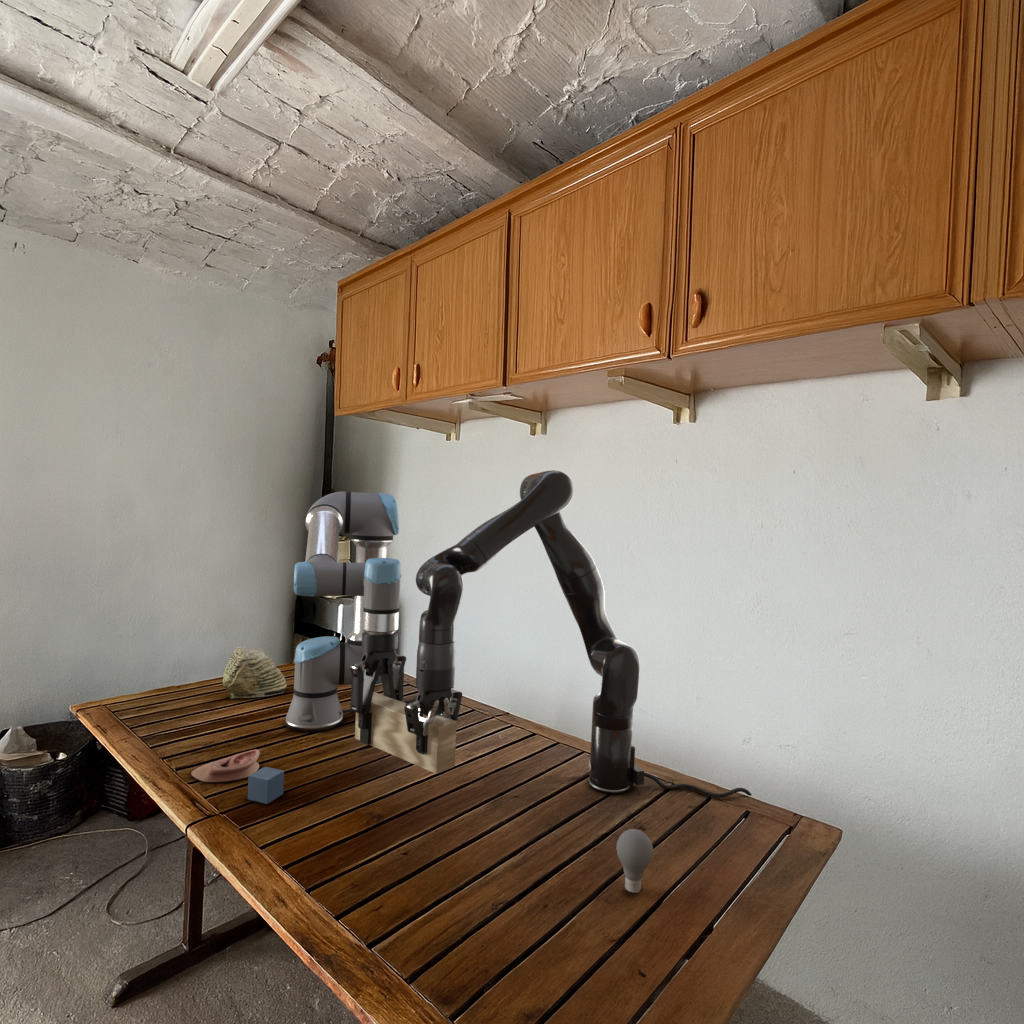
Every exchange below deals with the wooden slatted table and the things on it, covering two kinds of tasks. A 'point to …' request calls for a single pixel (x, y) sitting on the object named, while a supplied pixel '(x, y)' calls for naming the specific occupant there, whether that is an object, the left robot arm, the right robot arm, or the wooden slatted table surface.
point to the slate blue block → (265, 785)
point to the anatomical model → (229, 768)
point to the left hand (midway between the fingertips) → (376, 739)
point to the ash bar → (410, 735)
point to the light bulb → (634, 857)
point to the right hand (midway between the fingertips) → (432, 748)
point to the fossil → (252, 674)
